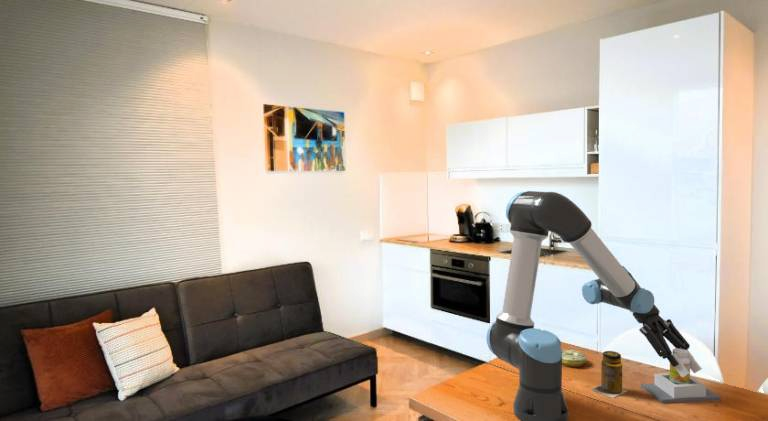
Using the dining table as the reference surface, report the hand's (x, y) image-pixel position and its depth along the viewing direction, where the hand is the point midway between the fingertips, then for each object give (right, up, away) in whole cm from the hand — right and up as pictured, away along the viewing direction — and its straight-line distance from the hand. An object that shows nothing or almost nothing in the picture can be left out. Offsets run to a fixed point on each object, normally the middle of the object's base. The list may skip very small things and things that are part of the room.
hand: (691, 373), depth 145 cm
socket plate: (-2, -8, +4) cm, 9 cm away
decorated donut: (-25, -7, +31) cm, 40 cm away
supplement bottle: (-2, -4, +4) cm, 6 cm away
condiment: (-22, -8, +7) cm, 24 cm away
